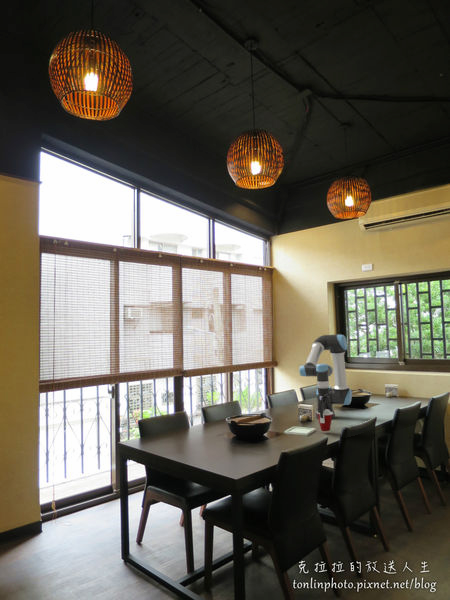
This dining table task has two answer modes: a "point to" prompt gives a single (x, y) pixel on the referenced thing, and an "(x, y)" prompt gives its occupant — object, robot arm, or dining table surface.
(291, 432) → the tray
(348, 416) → the dining table surface
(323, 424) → the plastic cup
